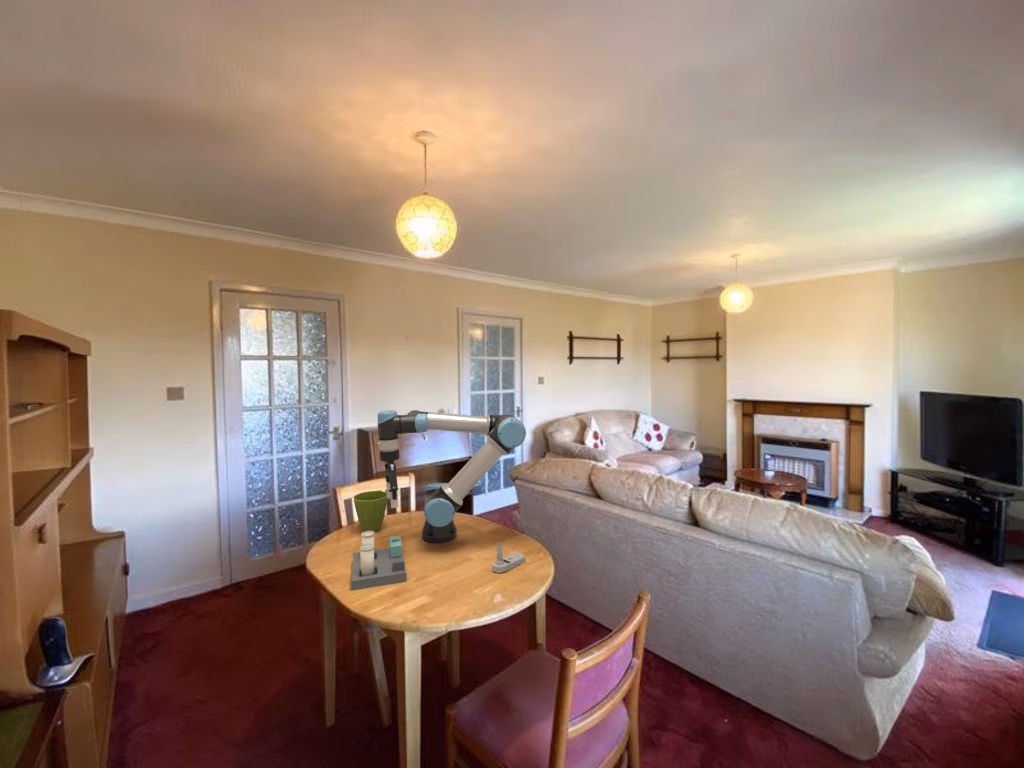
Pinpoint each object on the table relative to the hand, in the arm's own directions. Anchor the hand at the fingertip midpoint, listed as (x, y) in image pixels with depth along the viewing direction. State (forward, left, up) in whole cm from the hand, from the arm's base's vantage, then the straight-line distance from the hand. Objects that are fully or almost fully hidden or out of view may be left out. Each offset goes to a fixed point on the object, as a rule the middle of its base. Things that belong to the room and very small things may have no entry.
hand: (392, 502), depth 178 cm
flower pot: (+8, -29, -20) cm, 36 cm away
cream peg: (+10, +21, -20) cm, 31 cm away
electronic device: (-40, +27, -21) cm, 52 cm away
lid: (0, +7, -17) cm, 18 cm away
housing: (+6, +14, -20) cm, 25 cm away
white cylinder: (+10, +8, -20) cm, 24 cm away
